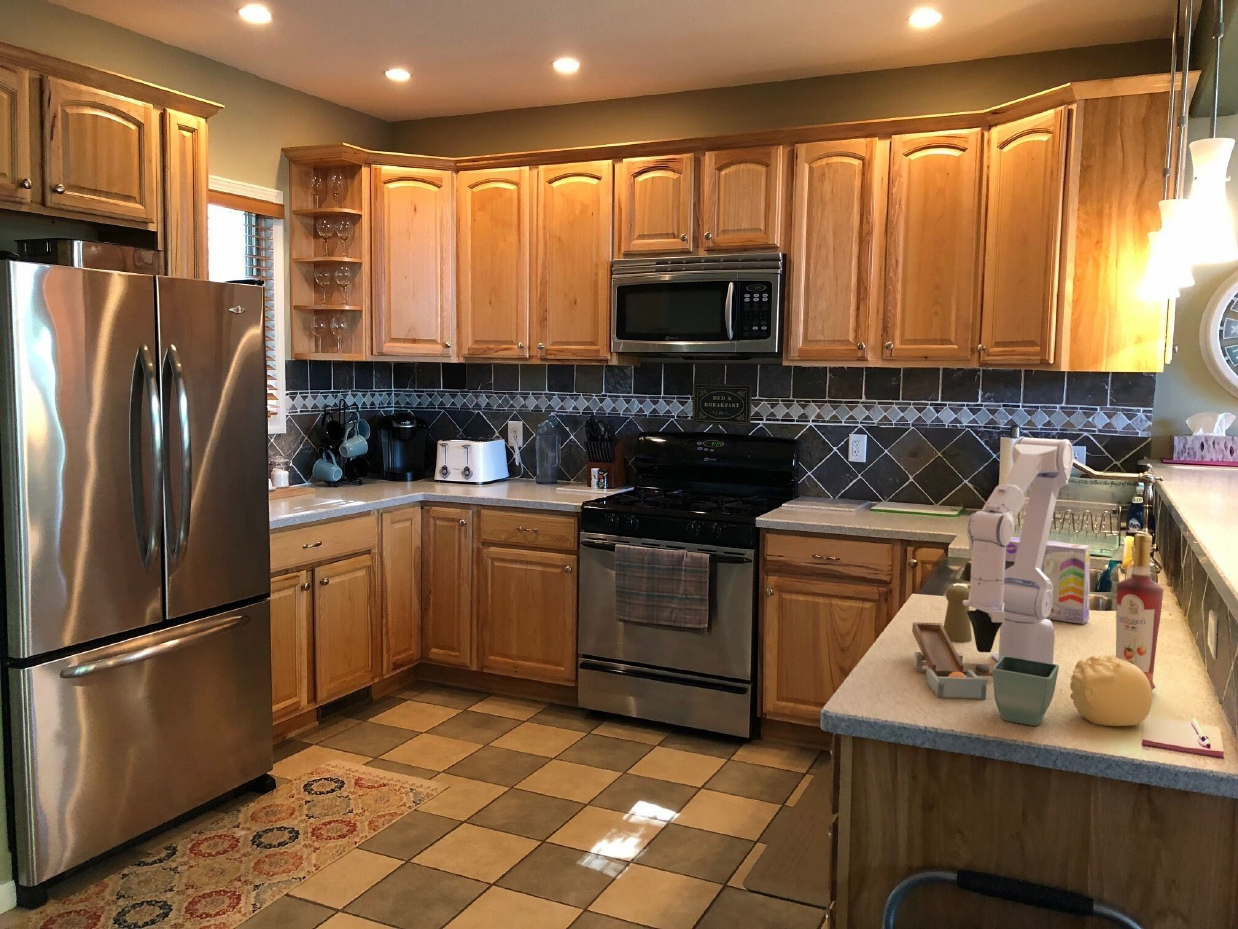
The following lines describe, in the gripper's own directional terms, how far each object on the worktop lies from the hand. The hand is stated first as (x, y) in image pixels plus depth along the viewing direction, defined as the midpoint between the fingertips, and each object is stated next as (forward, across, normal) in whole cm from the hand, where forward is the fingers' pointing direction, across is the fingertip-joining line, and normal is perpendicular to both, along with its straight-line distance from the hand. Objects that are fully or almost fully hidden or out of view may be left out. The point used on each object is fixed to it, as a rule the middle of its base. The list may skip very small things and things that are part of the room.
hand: (983, 651), depth 181 cm
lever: (+3, -7, -4) cm, 9 cm away
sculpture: (+6, +19, +14) cm, 25 cm away
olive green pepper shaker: (+6, -29, +3) cm, 30 cm away
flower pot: (+6, +20, 0) cm, 21 cm away
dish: (+5, +6, -7) cm, 11 cm away
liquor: (+6, +3, +25) cm, 26 cm away
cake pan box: (+6, -50, +29) cm, 58 cm away
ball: (+3, +7, -7) cm, 10 cm away
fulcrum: (+6, -5, -7) cm, 10 cm away
